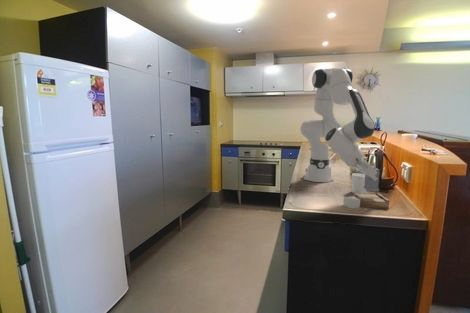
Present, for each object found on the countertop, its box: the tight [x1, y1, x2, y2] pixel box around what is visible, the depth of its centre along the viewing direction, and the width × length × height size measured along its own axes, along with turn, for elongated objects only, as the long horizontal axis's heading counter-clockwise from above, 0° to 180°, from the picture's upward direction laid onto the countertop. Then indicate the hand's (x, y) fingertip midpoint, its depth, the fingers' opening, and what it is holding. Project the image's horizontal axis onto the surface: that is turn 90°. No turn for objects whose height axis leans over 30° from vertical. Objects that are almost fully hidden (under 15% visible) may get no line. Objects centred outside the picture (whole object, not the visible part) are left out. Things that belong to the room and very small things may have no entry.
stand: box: [352, 192, 390, 209], centre depth 127 cm, size 12×12×4 cm
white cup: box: [350, 172, 366, 194], centre depth 145 cm, size 8×8×10 cm
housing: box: [363, 165, 381, 192], centre depth 125 cm, size 5×5×11 cm
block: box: [343, 196, 361, 209], centre depth 123 cm, size 5×5×4 cm
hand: (373, 178), depth 125 cm, fingers closed on housing, 4 cm apart
